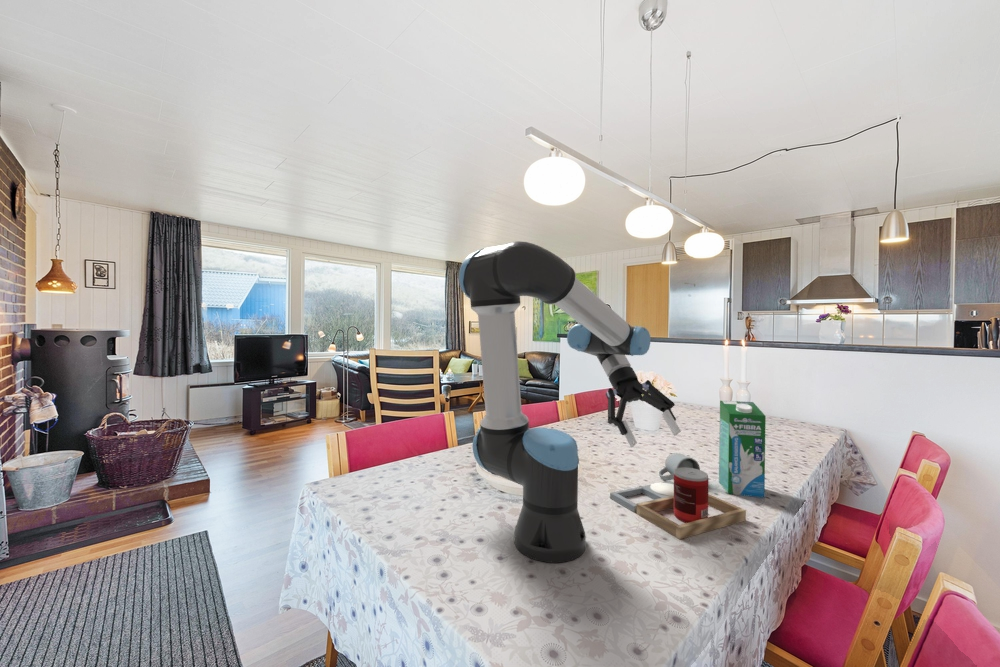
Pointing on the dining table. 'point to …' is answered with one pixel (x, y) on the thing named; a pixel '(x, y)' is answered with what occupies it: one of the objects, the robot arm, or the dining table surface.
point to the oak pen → (696, 527)
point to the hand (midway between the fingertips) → (656, 439)
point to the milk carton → (742, 448)
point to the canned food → (690, 494)
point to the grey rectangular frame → (651, 491)
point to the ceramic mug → (677, 465)
